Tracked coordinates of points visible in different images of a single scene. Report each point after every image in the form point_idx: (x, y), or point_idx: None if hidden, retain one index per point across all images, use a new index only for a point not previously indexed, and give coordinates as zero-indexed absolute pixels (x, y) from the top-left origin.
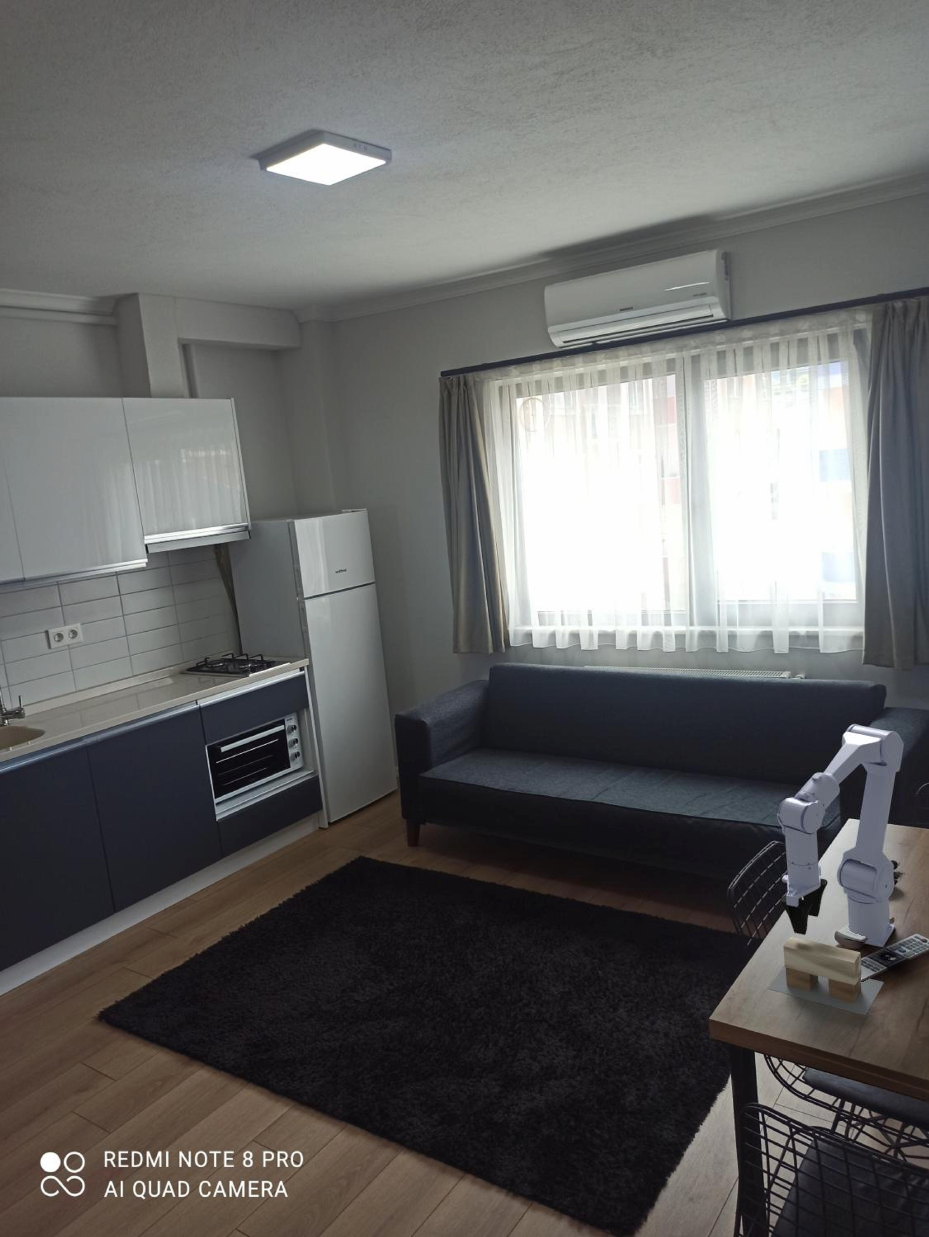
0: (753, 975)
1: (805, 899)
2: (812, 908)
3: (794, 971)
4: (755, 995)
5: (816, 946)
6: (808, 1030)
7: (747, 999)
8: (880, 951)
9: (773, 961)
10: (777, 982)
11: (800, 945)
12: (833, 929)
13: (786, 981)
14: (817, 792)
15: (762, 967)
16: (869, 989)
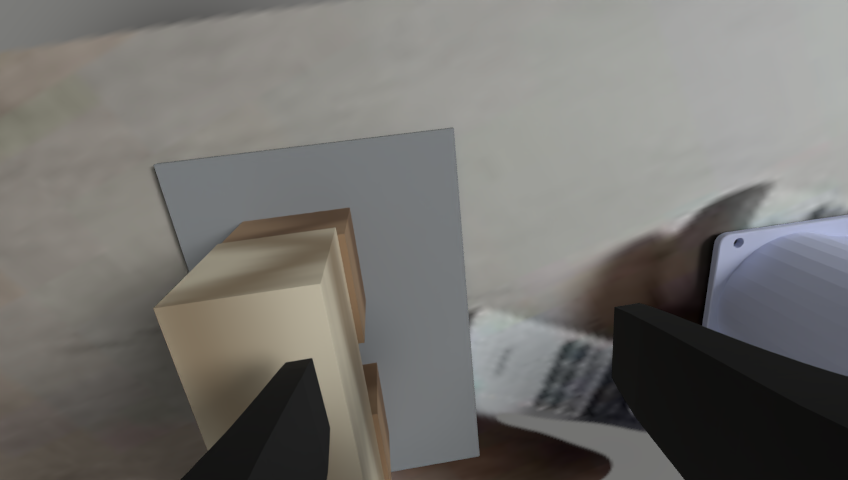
0: (218, 40)
1: (733, 389)
2: (656, 391)
3: None
4: (72, 139)
5: None
6: (44, 410)
7: (10, 124)
8: None
9: (399, 65)
10: (231, 179)
11: (249, 388)
12: (780, 169)
13: (237, 227)
14: None
15: (316, 43)
16: (413, 444)
